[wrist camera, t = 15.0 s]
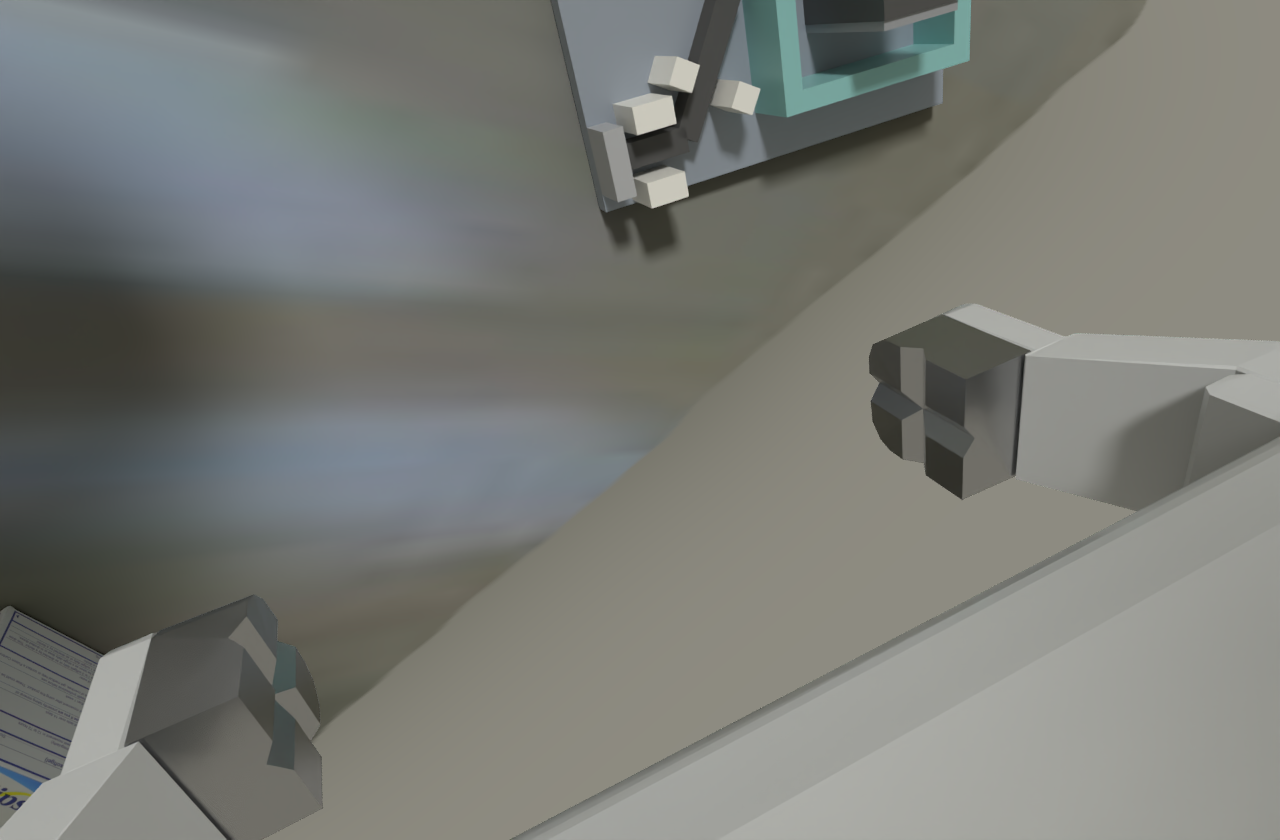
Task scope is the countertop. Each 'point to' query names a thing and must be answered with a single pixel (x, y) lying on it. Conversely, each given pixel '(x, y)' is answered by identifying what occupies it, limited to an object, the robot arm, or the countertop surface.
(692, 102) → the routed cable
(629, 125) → the board
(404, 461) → the countertop surface
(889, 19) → the block
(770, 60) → the end holder
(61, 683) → the medicine box
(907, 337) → the robot arm
